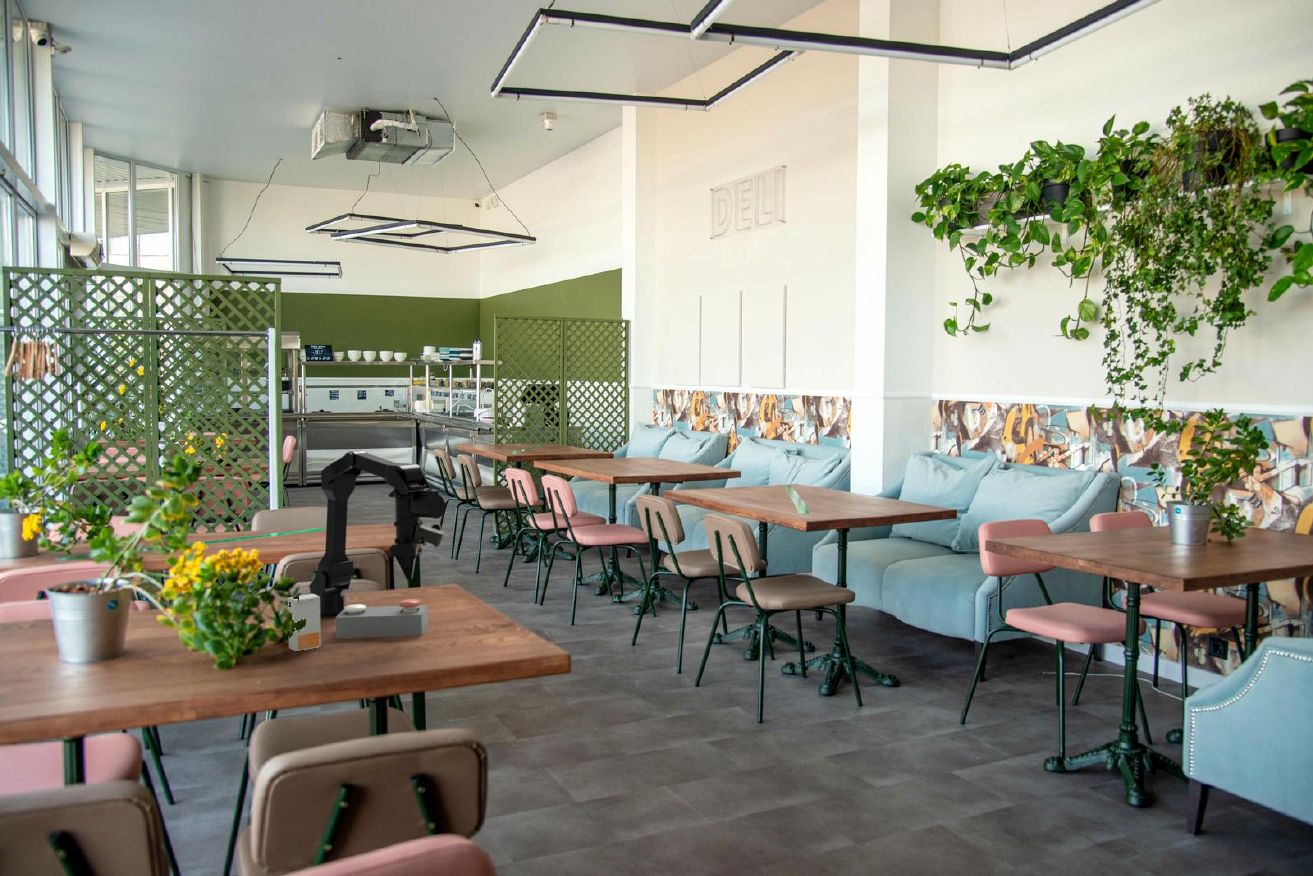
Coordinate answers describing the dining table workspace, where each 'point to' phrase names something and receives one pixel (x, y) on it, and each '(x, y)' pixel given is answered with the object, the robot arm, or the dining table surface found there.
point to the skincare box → (311, 612)
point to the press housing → (382, 622)
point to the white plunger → (355, 609)
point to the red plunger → (409, 605)
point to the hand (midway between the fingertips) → (409, 579)
